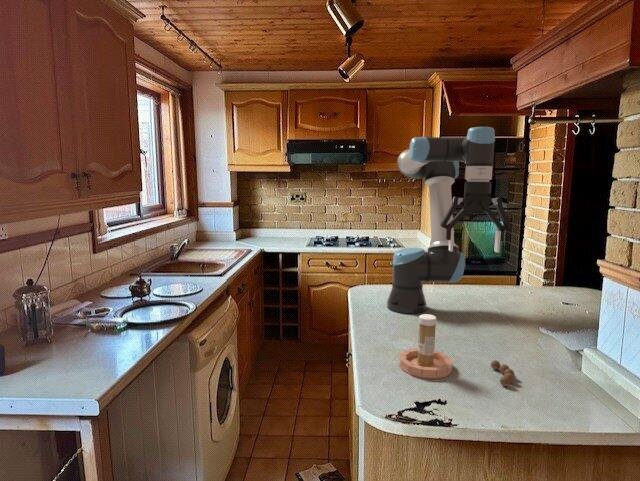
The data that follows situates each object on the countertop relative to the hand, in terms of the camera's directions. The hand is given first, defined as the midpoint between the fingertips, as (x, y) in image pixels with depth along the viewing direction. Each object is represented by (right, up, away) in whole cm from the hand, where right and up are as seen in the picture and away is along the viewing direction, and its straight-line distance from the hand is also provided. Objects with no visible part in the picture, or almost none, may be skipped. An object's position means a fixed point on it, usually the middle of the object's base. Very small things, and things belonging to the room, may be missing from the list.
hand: (473, 251), depth 129 cm
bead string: (+1, -32, -20) cm, 38 cm away
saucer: (-18, -31, -14) cm, 38 cm away
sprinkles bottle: (-18, -30, -14) cm, 38 cm away
